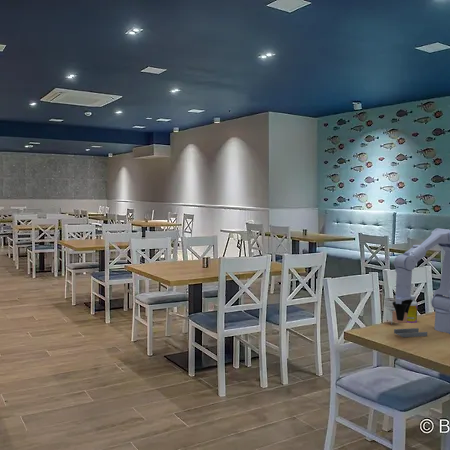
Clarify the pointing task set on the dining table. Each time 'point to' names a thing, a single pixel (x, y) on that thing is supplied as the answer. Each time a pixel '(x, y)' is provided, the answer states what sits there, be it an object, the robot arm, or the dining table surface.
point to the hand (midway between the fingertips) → (402, 318)
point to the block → (394, 318)
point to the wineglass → (390, 305)
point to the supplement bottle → (412, 311)
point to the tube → (409, 332)
